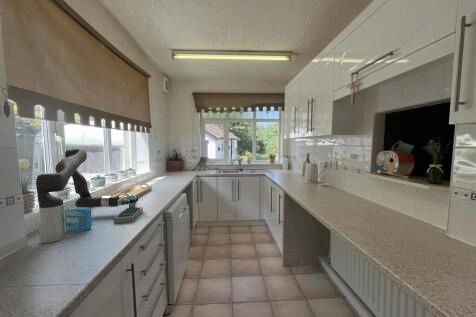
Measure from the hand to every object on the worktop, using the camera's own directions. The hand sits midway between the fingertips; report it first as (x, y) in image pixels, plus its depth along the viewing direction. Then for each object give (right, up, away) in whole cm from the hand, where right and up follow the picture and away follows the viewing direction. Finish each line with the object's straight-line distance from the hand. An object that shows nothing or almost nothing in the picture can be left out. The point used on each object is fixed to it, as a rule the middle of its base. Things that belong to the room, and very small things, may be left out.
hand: (136, 200), depth 153 cm
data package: (-20, -11, -27) cm, 36 cm away
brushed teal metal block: (-3, -6, 0) cm, 7 cm away
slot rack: (-2, -10, -7) cm, 12 cm away
